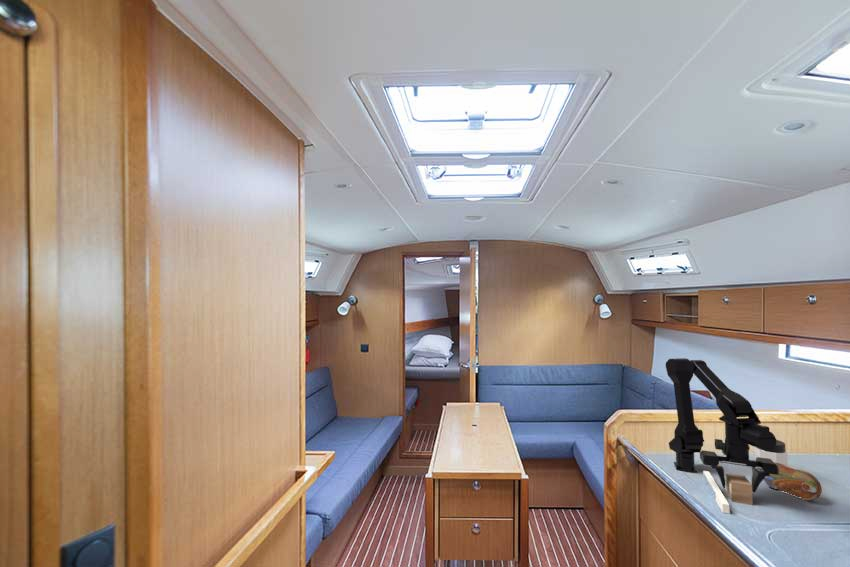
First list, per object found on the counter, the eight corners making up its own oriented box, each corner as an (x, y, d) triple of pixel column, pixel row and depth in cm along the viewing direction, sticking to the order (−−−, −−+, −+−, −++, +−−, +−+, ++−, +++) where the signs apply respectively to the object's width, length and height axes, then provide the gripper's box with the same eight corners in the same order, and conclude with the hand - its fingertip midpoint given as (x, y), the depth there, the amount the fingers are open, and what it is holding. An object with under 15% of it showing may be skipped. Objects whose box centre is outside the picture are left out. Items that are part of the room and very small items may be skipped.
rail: (702, 477, 138) (702, 470, 138) (709, 478, 137) (708, 471, 138) (721, 512, 116) (721, 503, 116) (729, 513, 115) (729, 504, 116)
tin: (760, 484, 134) (759, 458, 134) (766, 482, 135) (765, 457, 135) (818, 506, 119) (816, 477, 120) (824, 504, 121) (823, 475, 121)
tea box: (752, 505, 120) (751, 485, 120) (731, 501, 122) (730, 481, 122) (745, 494, 127) (744, 475, 127) (725, 491, 129) (724, 472, 129)
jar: (790, 477, 138) (789, 442, 139) (785, 484, 133) (784, 447, 134) (757, 468, 145) (756, 435, 146) (751, 475, 140) (750, 440, 141)
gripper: (764, 434, 129) (766, 484, 128) (695, 427, 136) (697, 474, 136) (778, 446, 118) (780, 500, 118) (703, 438, 126) (704, 488, 125)
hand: (738, 489), depth 124 cm, fingers open, 7 cm apart
